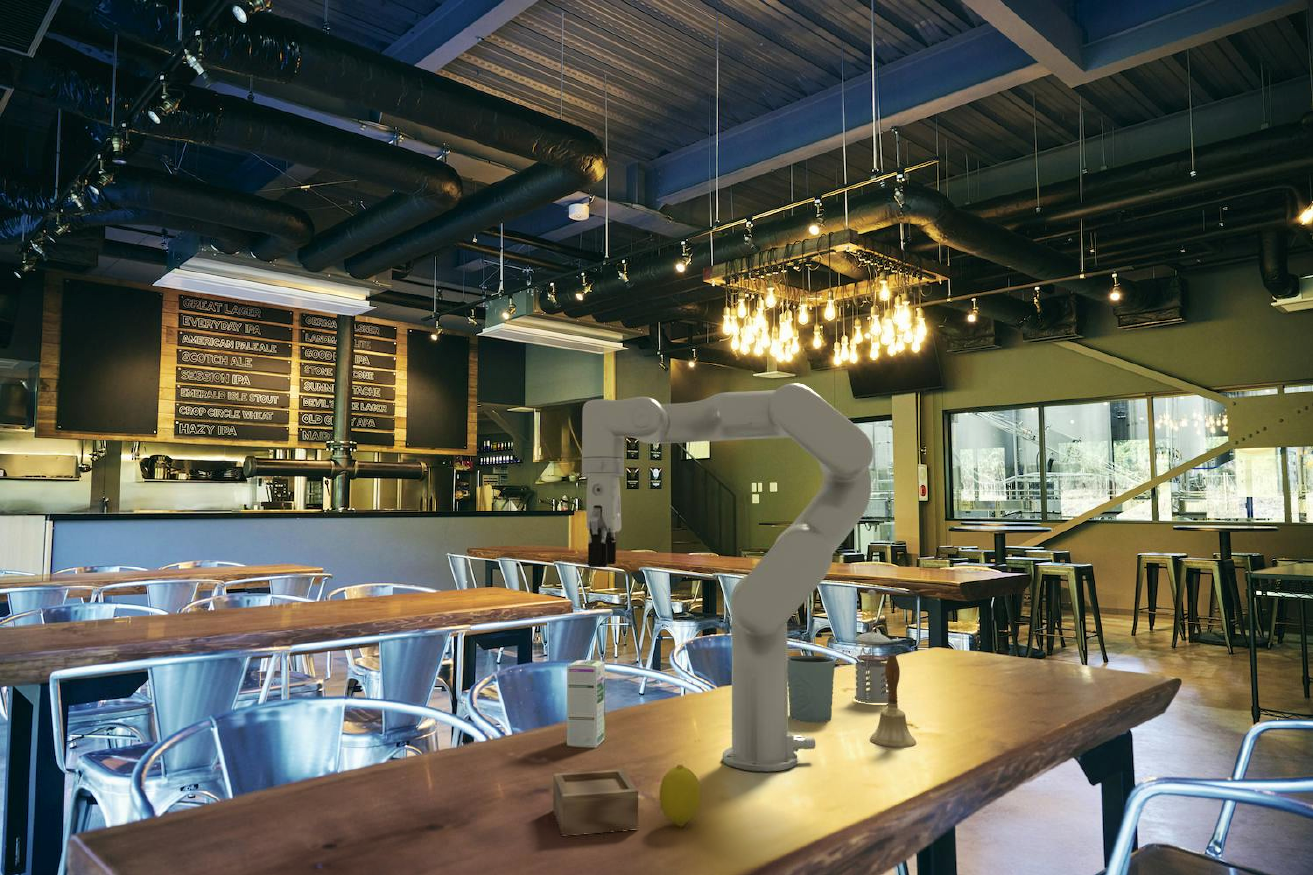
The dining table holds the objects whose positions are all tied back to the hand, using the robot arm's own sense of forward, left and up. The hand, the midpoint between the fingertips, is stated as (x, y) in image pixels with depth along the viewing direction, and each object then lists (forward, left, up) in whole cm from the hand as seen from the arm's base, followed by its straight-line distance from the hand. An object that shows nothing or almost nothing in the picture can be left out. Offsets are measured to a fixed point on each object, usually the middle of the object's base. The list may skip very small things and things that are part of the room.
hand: (602, 565), depth 148 cm
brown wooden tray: (+6, +30, -33) cm, 45 cm away
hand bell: (-55, +2, -33) cm, 64 cm away
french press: (-68, -30, -33) cm, 81 cm away
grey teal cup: (-48, -19, -33) cm, 61 cm away
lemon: (-5, +35, -33) cm, 48 cm away
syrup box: (+1, -9, -33) cm, 34 cm away
